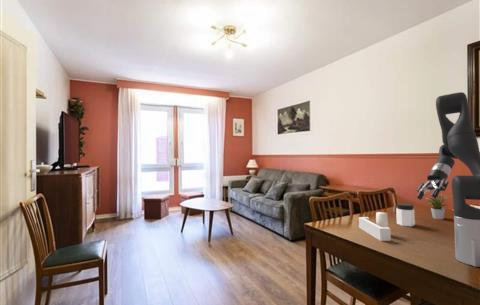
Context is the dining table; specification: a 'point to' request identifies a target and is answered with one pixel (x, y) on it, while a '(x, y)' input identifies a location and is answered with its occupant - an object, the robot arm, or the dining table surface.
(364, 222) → the stop rail
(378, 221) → the white pillar candle
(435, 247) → the dining table surface
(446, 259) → the dining table surface
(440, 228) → the dining table surface
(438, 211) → the house plant
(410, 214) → the jar
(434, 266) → the dining table surface
